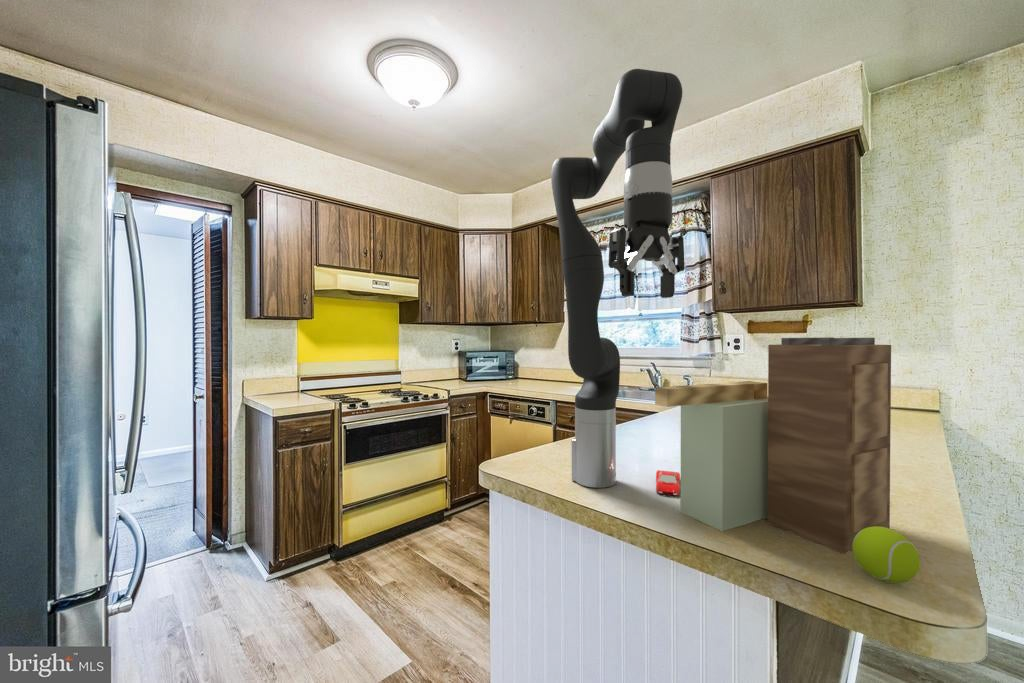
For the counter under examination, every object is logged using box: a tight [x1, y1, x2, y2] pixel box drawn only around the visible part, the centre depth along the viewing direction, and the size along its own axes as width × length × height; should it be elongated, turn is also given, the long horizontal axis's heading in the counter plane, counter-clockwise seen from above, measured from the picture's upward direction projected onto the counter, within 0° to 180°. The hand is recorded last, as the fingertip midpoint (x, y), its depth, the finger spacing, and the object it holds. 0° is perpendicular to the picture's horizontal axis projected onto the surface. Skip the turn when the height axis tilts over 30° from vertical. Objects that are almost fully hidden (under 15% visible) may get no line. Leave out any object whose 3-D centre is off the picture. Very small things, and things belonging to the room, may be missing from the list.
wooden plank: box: [654, 380, 768, 408], centre depth 79 cm, size 24×4×3 cm, turn 112°
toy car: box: [655, 469, 681, 497], centre depth 95 cm, size 12×5×3 cm, turn 160°
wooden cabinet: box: [767, 336, 892, 554], centre depth 74 cm, size 14×12×33 cm
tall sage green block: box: [680, 397, 768, 532], centre depth 81 cm, size 16×9×22 cm, turn 116°
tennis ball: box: [852, 526, 921, 584], centre depth 59 cm, size 7×7×7 cm
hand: (647, 296), depth 70 cm, fingers open, 8 cm apart
